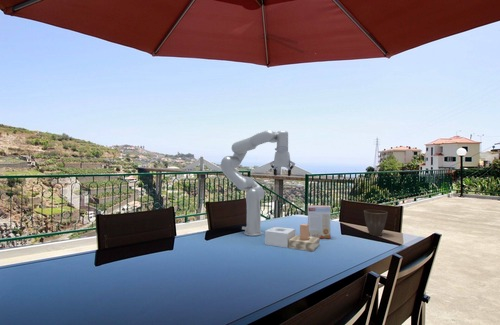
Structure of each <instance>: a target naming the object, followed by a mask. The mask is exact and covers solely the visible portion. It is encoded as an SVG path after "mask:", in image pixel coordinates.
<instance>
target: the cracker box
mask: <svg viewBox="0 0 500 325" xmlns="http://www.w3.org/2000/svg"><path fill="white" fill-rule="evenodd" d="M307 224H309V236H310V237H318V238H320V239H324V240H325V239H327V240H328V239H329V240H330V239H331V206H330V205H314V204H313V205H312V204H309V205H307Z"/></svg>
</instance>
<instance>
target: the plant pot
mask: <svg viewBox="0 0 500 325" xmlns="http://www.w3.org/2000/svg"><path fill="white" fill-rule="evenodd" d="M363 214H364V215H363V216H364V221H365V226H366V229H367V232H368V234H369V235H370V236H375V237H380V236H382V234H383V231H384V230H385V226H386V223H387V219H388V211H385V210H379V209H378V210H377V209H364V210H363Z"/></svg>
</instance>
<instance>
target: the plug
mask: <svg viewBox="0 0 500 325" xmlns="http://www.w3.org/2000/svg"><path fill="white" fill-rule="evenodd" d="M299 235H300V240H307V241H308V240H309V224H308V223H301V224H299Z"/></svg>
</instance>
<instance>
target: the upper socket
mask: <svg viewBox="0 0 500 325" xmlns="http://www.w3.org/2000/svg"><path fill="white" fill-rule="evenodd" d="M294 236H296V229H295V228H289V227H279V226H273V227H271V228H268V229H266V230H264V244H265V245H267V246H272V247H273V246H274V247H281V248H285V249H286V248H288V249H289V240H290V239H291V238H293V237H294Z"/></svg>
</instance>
